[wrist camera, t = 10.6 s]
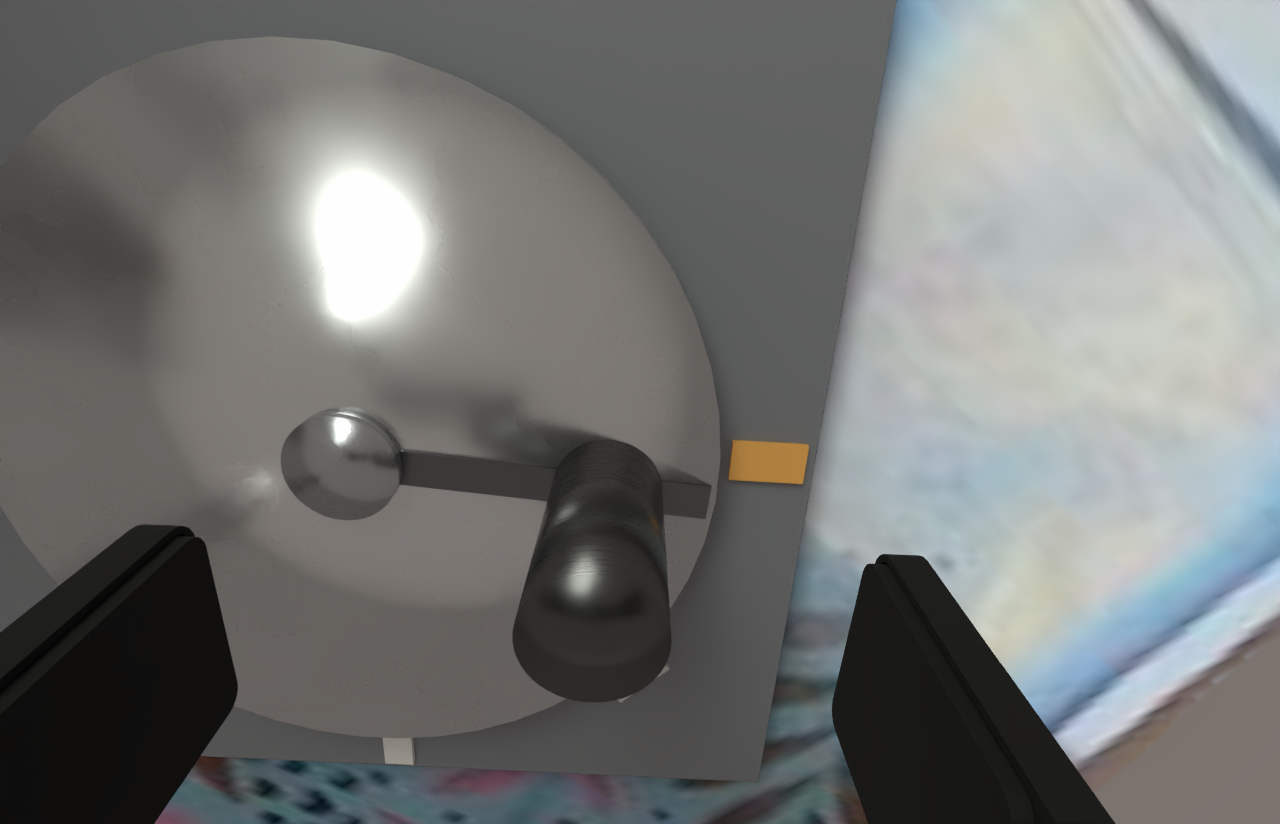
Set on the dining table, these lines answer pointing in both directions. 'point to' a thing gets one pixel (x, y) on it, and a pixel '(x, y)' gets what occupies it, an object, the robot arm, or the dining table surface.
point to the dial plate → (691, 240)
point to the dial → (356, 381)
